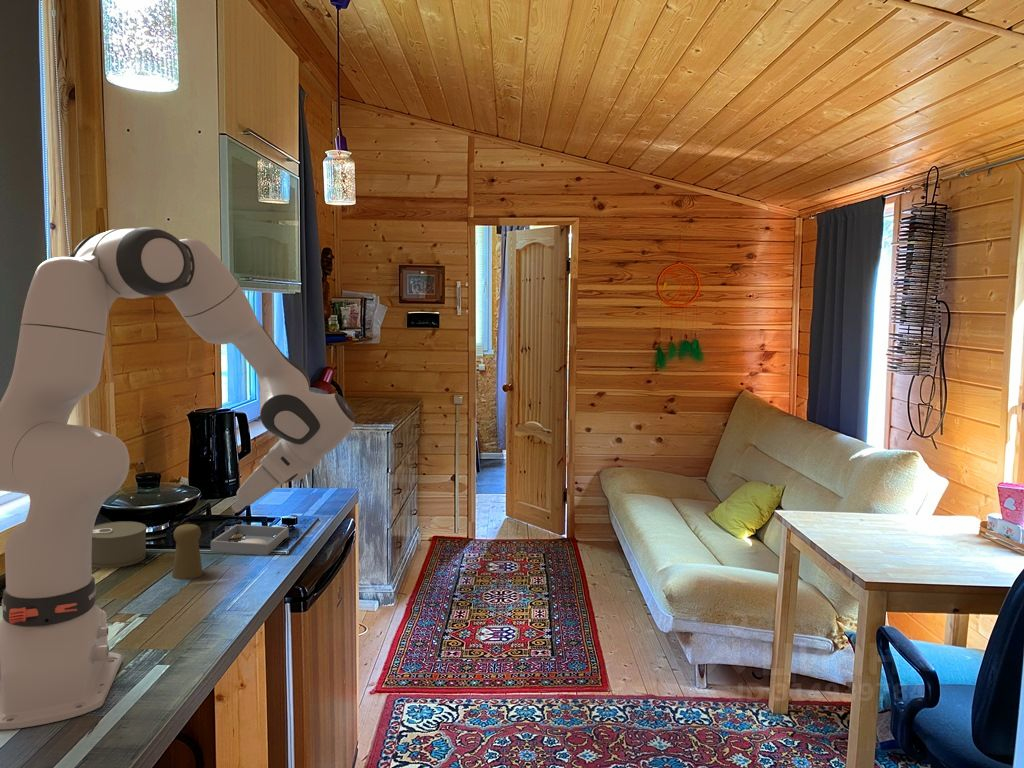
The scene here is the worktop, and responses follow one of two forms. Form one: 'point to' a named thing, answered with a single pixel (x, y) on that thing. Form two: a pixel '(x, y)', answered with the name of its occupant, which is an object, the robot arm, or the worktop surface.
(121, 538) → the can
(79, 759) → the worktop surface
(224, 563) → the worktop surface
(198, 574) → the cork
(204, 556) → the worktop surface
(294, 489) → the worktop surface
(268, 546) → the tray
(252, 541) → the resting spot
